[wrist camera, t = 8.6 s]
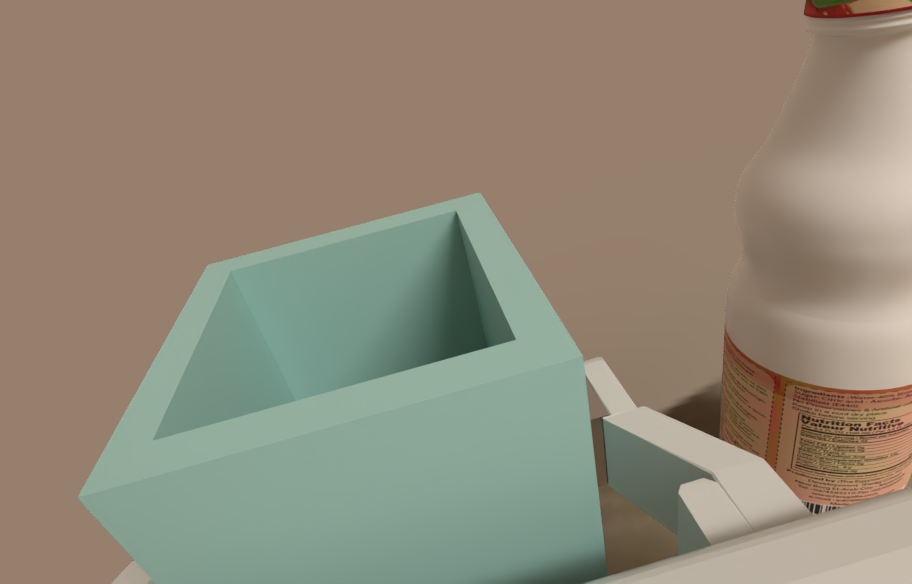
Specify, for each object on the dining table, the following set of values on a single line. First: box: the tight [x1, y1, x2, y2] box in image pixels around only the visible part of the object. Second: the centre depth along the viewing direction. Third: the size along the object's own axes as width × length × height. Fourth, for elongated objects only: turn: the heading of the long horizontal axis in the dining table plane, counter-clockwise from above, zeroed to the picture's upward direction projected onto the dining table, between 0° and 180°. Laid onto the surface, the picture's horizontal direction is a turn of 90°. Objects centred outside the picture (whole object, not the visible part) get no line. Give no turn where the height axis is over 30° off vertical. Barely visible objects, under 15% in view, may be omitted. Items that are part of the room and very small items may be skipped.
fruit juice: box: [719, 0, 912, 515], centre depth 26 cm, size 9×9×28 cm
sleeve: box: [78, 193, 608, 584], centre depth 10 cm, size 6×6×9 cm
